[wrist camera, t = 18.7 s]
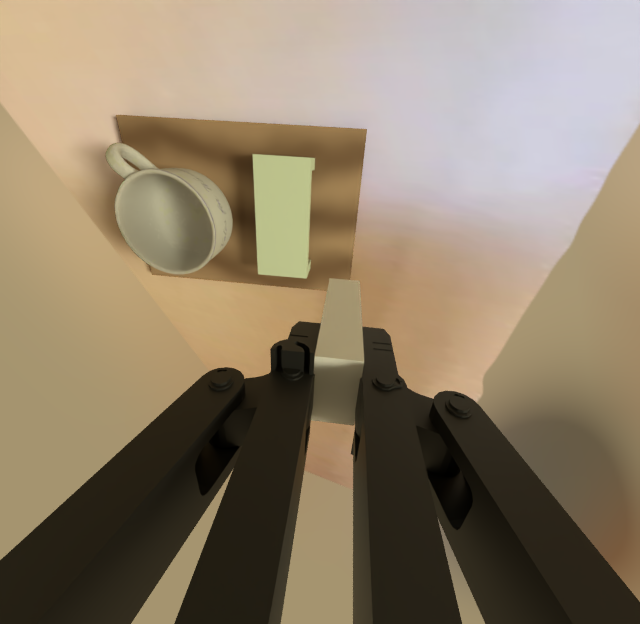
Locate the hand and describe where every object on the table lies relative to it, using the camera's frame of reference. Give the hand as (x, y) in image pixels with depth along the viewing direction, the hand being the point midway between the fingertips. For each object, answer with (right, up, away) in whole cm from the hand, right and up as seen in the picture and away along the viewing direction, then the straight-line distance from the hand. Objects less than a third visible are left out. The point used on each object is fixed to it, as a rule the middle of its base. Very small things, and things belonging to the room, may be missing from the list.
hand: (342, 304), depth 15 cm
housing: (-5, +11, +21) cm, 24 cm away
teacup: (-17, +13, +21) cm, 30 cm away
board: (-10, +13, +22) cm, 28 cm away
